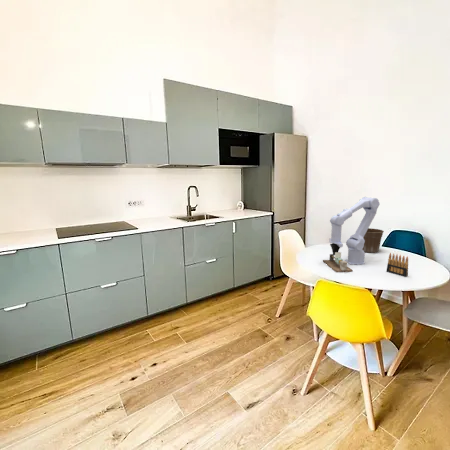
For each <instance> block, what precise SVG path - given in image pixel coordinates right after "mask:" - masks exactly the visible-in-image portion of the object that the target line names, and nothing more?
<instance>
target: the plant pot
mask: <svg viewBox="0 0 450 450" xmlns="http://www.w3.org/2000/svg"><path fill="white" fill-rule="evenodd" d="M383 234H384V230H383V229H378V228H372V227H371V228H370V227H369V228H368V230H367V232H366V233H365V235H364V237H363V238H364V240H365V243H364V247H363V249H362V250H364V253H368V254H370V253H371V254H372V253H374V254H377V253H379V251H380V247H381V241H382V237H383Z"/></svg>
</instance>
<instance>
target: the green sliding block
mask: <svg viewBox="0 0 450 450" xmlns="http://www.w3.org/2000/svg"><path fill="white" fill-rule="evenodd" d="M334 257H335V259H334V260H335V262H336V263H337V264H340V263H339V261H340V260H342V261H344V259H343V258H342V252H341V251H338V252H335V255H334Z"/></svg>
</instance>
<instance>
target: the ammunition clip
mask: <svg viewBox="0 0 450 450" xmlns="http://www.w3.org/2000/svg"><path fill="white" fill-rule="evenodd" d="M386 265H387V266H386V271H385V272H386V273H390V274H393V275H396V276H400V277H404V278H408V277H409V276H408V275H409V257H408V255H407V256H406V257H405V255H401V254H398V253H396V255H395V253H392V252H389V255H388V259H387V264H386Z"/></svg>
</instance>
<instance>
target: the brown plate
mask: <svg viewBox="0 0 450 450" xmlns="http://www.w3.org/2000/svg"><path fill="white" fill-rule="evenodd" d="M322 262H323V263H324V264H325V265H326V264H327V265H326V266H327V267H329V268H330V269H331V268H332V269H331V270H332V271H334V272H335V273H353V272H354V271H353V269H351V268H350V267H349V266H348V264H349V263H348V262H346V261H345V260H343V261H342V260H340V261H339V263H340V264H337V263H336V262H335V255H333V253H330V254H329V259H323V260H322Z"/></svg>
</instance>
